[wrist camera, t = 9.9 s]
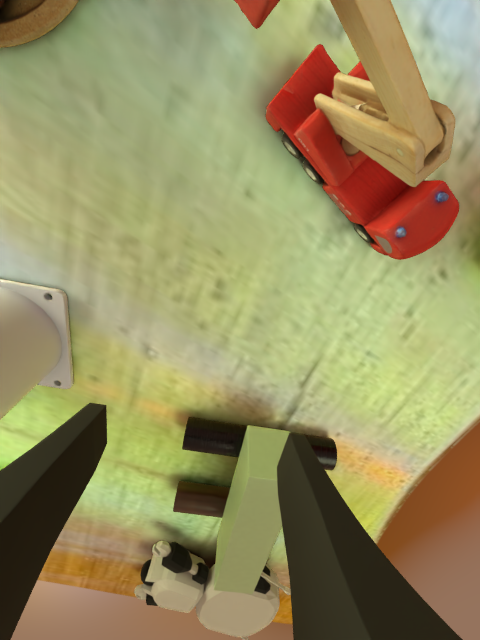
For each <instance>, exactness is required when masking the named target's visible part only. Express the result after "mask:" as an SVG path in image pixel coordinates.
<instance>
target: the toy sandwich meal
mask: <svg viewBox="0 0 480 640" xmlns="http://www.w3.org/2000/svg"><path fill="white" fill-rule="evenodd" d="M78 1H79V0H0V48H2V47H11V46H17V45H21V44H25V43H27V42H30V41H32V40H35V39H37V38H39V37H41V36H43V35H44V34H46V33H48V32H49V31H51V30H52V29H54V28H55V27H56V26H57V25H58V24H59V23H60V22H62V21H63V20H64V19H65V18H66V16H67V15H68V14H69V13H70V12H71V11H72V9H73V8H74V7H75V5H76V4H77V3H78Z"/></svg>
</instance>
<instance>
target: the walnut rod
mask: <svg viewBox="0 0 480 640" xmlns="http://www.w3.org/2000/svg"><path fill="white" fill-rule="evenodd" d="M229 491H230V487H223V486H215V485H208V484H200V483H193V482H185V481H179V483H178V487H177V492H176V497H175V502H174V508H173V511H174V512H181V513H189V514H197V515H205V516H213V517H221V518H222V517H223V513H224V510H225V506H226V502H227V499H228V495H229Z"/></svg>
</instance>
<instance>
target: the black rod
mask: <svg viewBox="0 0 480 640" xmlns="http://www.w3.org/2000/svg"><path fill="white" fill-rule="evenodd" d="M246 429H247V426H245V425H239V424H232V423H225V422H219V421H212V420H205V419H199V418H192V417H189V418H188V421H187V425H186V430H185V435H184V441H183V447H182V449H183V450H190V451H197V452H204V453H211V454H218V455H225V456H233V457H239V455H240V451H241V448H242V444H243V440H244V437H245V433H246ZM291 433H292V432H291ZM295 434H299V433H295ZM301 435H305V434H301ZM305 437H306V439H307V440H308V442H309V444H310V446H311V447H312V449H313V451H314V453H315V454H316V456H317V458H318V459H319V461H320V463H321V465H322V466H323V468H324V469H325V470H333V469H334V467H335V465H336V461H337V449H336V445H335V442H334V440H333V439H331V438H325V437H319V436H312V435H305Z"/></svg>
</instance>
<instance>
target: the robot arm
mask: <svg viewBox="0 0 480 640" xmlns="http://www.w3.org/2000/svg"><path fill="white" fill-rule="evenodd" d="M48 293H49V294H51V295H52V298H50V297H49V296H48ZM59 381H60V382H59ZM73 384H74V379H73V366H72V353H71V340H70V327H69V314H68V301H67V295H66V294H65V292H63V291H62V290H59V289H54V288H48V287H43V286H37V285H31V284H26V283H20V282H15V281H9V280H3V279H0V420H1V419H2V418H3V417H4V416H5V415H6V414H7V413H8V412H9V411H10V410H11V409H12V408H13V407H14V406H15V405H16V404H17V403H18V402H19V401H20V400H21V399H23V398H24V397H25V396H26V395H27V394H28V393H29V392H30V391H31V390H32V389H33V388H34V387H35V386H36V385H42V386H49V387H55V388H62V389H69V388H71V386H72V385H73ZM106 444H107V418H106V405H101V404H94V403H89V404H88V405H86V406H85V407H84V408H82V409H81V410H80V411H79V412H78V413H76V414H75V415H74V416H73V417H71V418H70V419H69V420H68V421H66V422H65V423H64V424H63V425H61V426H60V427H59V428H58V429H56V430H55V431H54V432H53V433H51V434H50V435H49V436H47V437H46V438H45V439H43V440H42V441H41V442H40V443H38V444H37V445H36V446H34V447H33V448H32V449H30V450H29V451H27V452H26V453H25V454H23V455H22V456H20V457H19V458H18V459H16V460H15V461H13V462H12V463H11V464H9V465H8V466H6V467H5V468H3V469H2V470H1V471H0V640H10V639H11V637H12V635H13V632H14V630H15V628H16V626H17V623H18V621H19V619H20V617H21V614H22V612H23V610H24V608H25V605H26V603H27V601H28V599H29V596H30V594H31V592H32V590H33V588H34V586H35V583H36V581H37V579H38V577H39V575H40V573H41V571H42V568H43V566H44V564H45V562H46V560H47V558H48V555H49V553H50V551H51V549H52V547H53V546H54V544H55V542H56V540H57V538H58V536H59V534H60V532H61V531H62V529H63V527H64V525H65V524H66V522H67V520H68V518H69V516H70V515H71V513H72V511H73V509H74V508H75V506H76V504H77V502H78V501H79V499H80V497H81V495H82V493H83V492H84V490H85V488H86V486H87V484H88V483H89V481H90V479H91V477H92V475H93V474H94V472H95V470H96V468H97V465H98V463H99V461H100V459H101V456H102V454H103V451H104V449H105V447H106ZM277 486H278V499H279V506H280V513H281V520H282V526H283V533H284V540H285V546H286V553H287V560H288V568H289V576H290V589H291V603H292V619H293V635H294V640H462V639H461V638H460V637H459V636H458V635H457V634H456V633H455V632H454V631H453V630H452V629H451V628H450V627H449V626H448V625H447V624H446V623H445V622H444V621H443V620H442V619H441V618H440V616H439V615H438V614H437V613H436V612H435V611H434V610H433V609H432V608H431V607H430V606H429V605H428V604H427V603H426V602H425V601H424V600H423V599H422V597H420V595H419V594H418V593H417V592H416V591H415V590H414V589H413V587H412V586H411V585H410V584H409V583H408V582H407V581H406V580H405V579H404V577H403V576H402V575H401V574H400V573H399V572H398V570H397V569H396V568H395V567H394V566H393V565H392V564H391V562H390V561H389V560H388V559H387V558H386V556H385V555H384V554H383V553H382V551H381V550H380V549H379V548H378V546H377V545H376V544H375V543H374V541H373V540H372V539H371V537H370V536H369V535H368V534H367V532H366V531H365V530H364V528H363V527H362V525H361V524H360V523H359V521H358V520H357V519H356V517H355V516H354V514H353V513H352V511H351V510H350V509H349V507H348V506H347V504H346V503H345V501H344V500H343V498H342V497H341V495H340V494H339V492H338V490H337V489H336V487H335V486H334V484H333V483H332V481H331V479H330V478H329V476H328V475H327V473H326V471H325V470H324V468H323V466H322V465H321V463H320V461H319V459H318V458H317V456H316V454H315V453H314V451H313V449H312V447H311V446H310V444H309V442H308V440H307V439H306V437H305V435H301V434H295V433H289V435H288V438H287V441H286V443H285V446H284V449H283V451H282V454H281V457H280V460H279V462H278V465H277Z"/></svg>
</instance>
